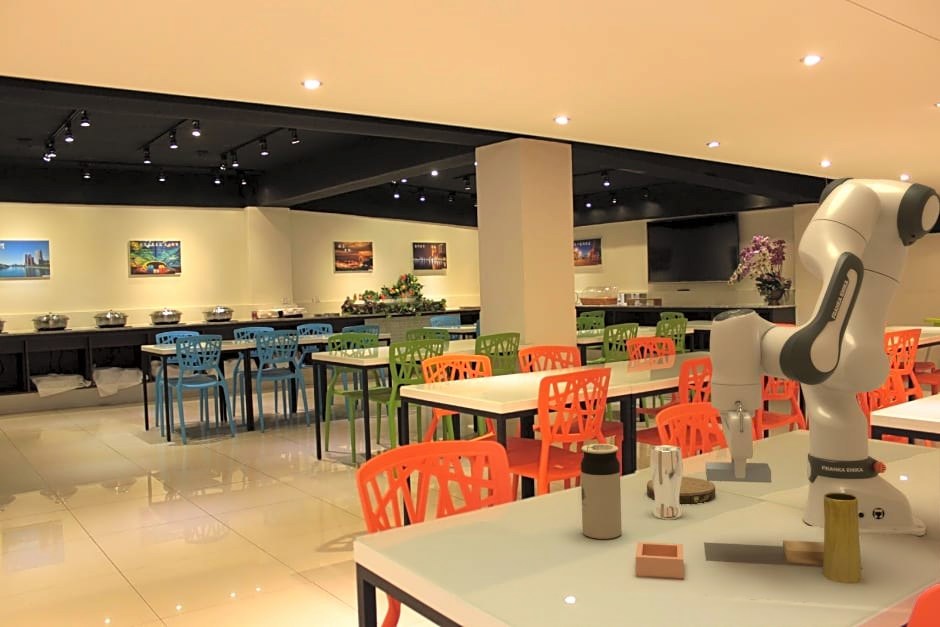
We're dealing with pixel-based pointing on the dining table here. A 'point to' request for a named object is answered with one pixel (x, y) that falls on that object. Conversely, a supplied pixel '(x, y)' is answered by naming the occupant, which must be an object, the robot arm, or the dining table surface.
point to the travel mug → (601, 491)
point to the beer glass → (666, 480)
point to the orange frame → (659, 560)
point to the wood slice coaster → (690, 491)
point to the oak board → (803, 552)
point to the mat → (748, 554)
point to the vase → (841, 538)
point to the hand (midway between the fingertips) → (738, 472)
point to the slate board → (726, 473)
